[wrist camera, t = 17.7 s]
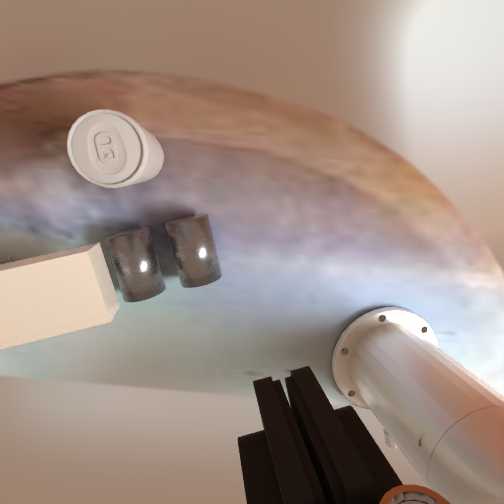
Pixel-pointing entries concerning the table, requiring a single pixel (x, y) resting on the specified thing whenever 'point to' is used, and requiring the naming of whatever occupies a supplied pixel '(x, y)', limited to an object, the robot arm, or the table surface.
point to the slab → (55, 295)
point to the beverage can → (113, 149)
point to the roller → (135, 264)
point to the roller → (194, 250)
